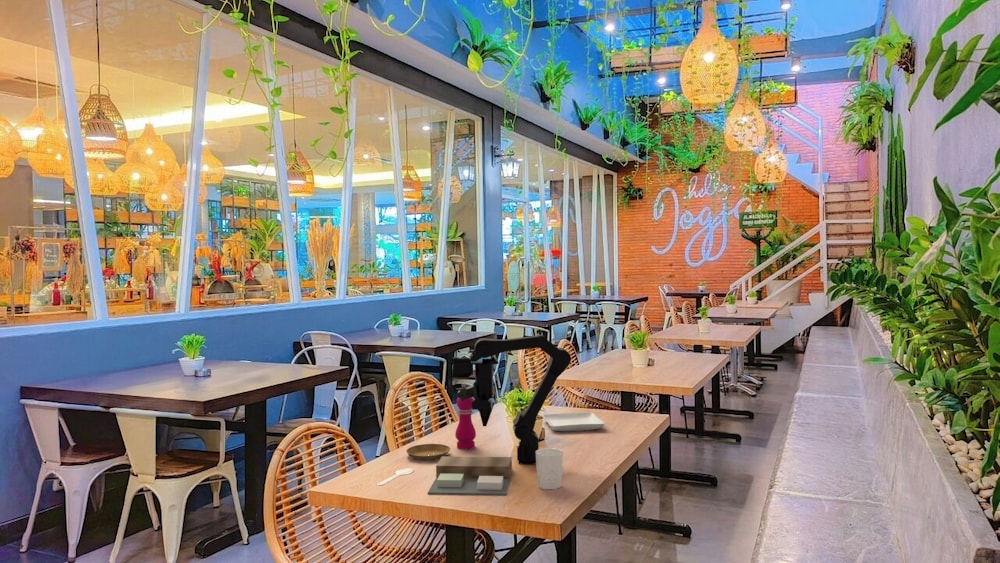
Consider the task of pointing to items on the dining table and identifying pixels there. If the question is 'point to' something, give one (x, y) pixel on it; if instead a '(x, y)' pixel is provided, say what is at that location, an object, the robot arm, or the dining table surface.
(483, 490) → the mat
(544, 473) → the white cup
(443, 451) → the plant saucer
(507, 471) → the deck
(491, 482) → the tile cream
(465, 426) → the pepper mill
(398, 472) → the spoon
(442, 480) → the tile sage
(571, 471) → the dining table surface
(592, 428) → the salad plate
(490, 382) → the robot arm
